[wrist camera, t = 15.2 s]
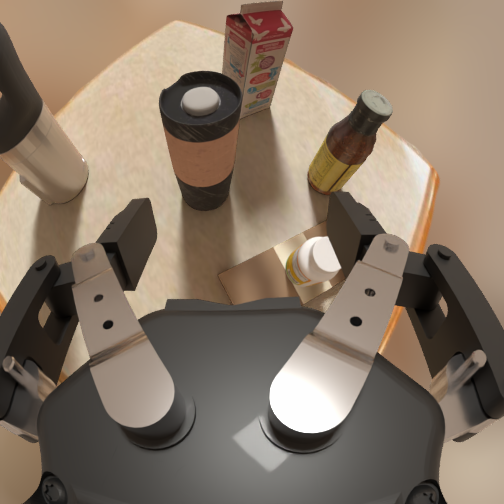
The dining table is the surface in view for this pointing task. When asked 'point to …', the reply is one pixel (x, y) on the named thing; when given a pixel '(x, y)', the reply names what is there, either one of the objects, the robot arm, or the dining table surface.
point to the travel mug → (202, 135)
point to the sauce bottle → (348, 143)
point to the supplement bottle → (312, 262)
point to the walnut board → (274, 274)
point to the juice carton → (256, 52)
